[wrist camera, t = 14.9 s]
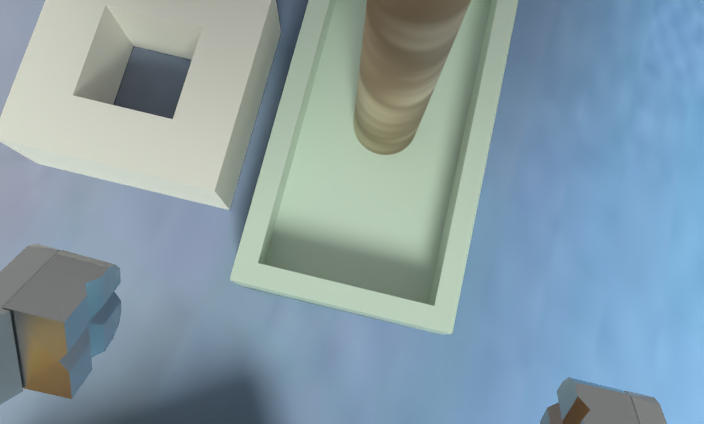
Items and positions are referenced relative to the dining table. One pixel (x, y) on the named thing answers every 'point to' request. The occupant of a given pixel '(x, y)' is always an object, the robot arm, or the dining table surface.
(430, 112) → the tray
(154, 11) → the socket block
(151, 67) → the dining table surface
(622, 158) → the dining table surface
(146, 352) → the dining table surface
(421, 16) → the dowel
